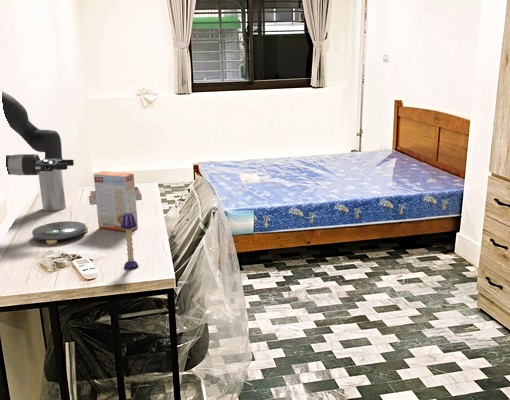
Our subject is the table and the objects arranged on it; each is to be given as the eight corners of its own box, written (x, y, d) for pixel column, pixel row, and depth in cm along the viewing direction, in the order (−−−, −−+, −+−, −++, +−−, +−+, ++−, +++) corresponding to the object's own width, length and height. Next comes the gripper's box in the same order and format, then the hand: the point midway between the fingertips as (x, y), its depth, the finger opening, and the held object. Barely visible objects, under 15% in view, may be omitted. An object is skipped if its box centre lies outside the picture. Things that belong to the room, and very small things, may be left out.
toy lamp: (125, 264, 167) (120, 211, 163) (140, 263, 168) (136, 211, 163) (123, 270, 163) (118, 216, 159) (138, 269, 163) (134, 215, 159)
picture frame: (137, 191, 259) (90, 196, 253) (137, 186, 258) (90, 190, 252) (142, 200, 244) (91, 204, 238) (141, 194, 243) (91, 199, 237)
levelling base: (44, 229, 204) (42, 218, 203) (92, 227, 204) (91, 217, 203) (24, 246, 185) (22, 234, 184) (77, 244, 186) (75, 233, 185)
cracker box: (138, 228, 203) (134, 172, 197) (128, 232, 197) (124, 176, 192) (108, 223, 208) (103, 170, 203) (98, 228, 203) (92, 173, 198)
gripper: (16, 157, 189) (64, 157, 190) (30, 151, 203) (74, 151, 204) (18, 178, 190) (65, 178, 191) (31, 171, 204) (76, 171, 205)
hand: (70, 164), depth 198 cm, fingers open, 8 cm apart
